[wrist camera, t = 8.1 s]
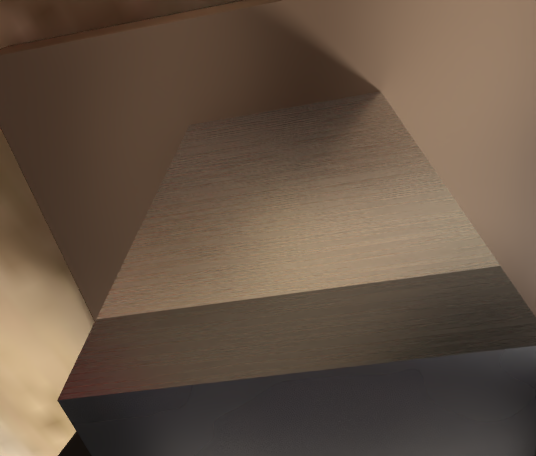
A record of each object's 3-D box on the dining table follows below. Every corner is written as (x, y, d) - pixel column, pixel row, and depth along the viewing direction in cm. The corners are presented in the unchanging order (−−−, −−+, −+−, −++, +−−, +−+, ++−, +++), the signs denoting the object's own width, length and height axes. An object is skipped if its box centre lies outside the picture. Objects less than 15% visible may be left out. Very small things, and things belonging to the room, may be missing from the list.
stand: (564, -62, 9) (610, -64, 8) (507, 401, 17) (527, 440, 15) (6, 46, 11) (-32, 61, 9) (175, 433, 18) (167, 471, 16)
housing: (381, 91, 10) (553, 343, 4) (400, 411, 15) (485, 737, 9) (189, 124, 10) (57, 400, 4) (273, 424, 15) (269, 743, 9)
